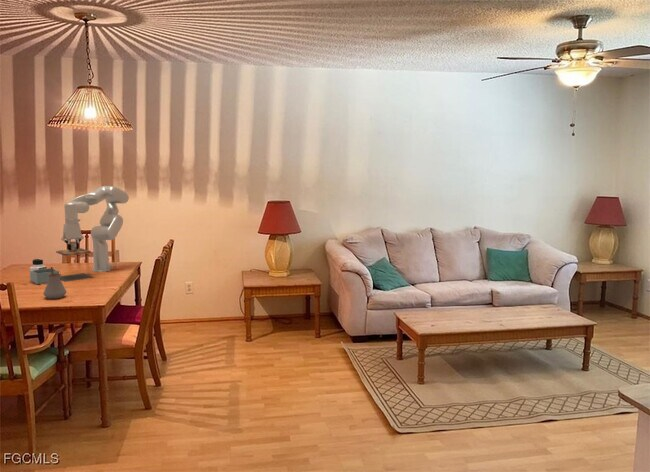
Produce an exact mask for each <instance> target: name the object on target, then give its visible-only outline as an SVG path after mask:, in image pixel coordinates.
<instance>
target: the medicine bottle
mask: <svg viewBox="0 0 650 472" xmlns="http://www.w3.org/2000/svg"><path fill="white" fill-rule="evenodd" d="M41 269H48V268H47V265H44V259H42V258H34V259H32V266H30V267H29V272H30V271H33V270H41Z"/></svg>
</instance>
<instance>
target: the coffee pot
mask: <svg viewBox="0 0 650 472" xmlns="http://www.w3.org/2000/svg"><path fill="white" fill-rule="evenodd" d="M50 268H51V273H52V274H50V275H48V277H49V281H48V283H46V287H45V288H44V291H43V295H44V297H46V298H47V299H49V300H58V299H62V298H63V297H64V296H65V295H66V294H67V290H66V288H65V286H64V284H63V283H62V282H63V281H62V280H60V276H62V274H61V273H59V274H54V273H53V269H55V268H54V267H52V266H50V267H49V268H48V269H50Z"/></svg>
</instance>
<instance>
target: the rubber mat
mask: <svg viewBox="0 0 650 472" xmlns="http://www.w3.org/2000/svg"><path fill="white" fill-rule="evenodd" d="M93 278H96V277H95V276H92V275H89V274H86V273H75V274H66V275H61V276H60V280H61V282H71V281H78V280H79V281H80V280H86V279H87V280H88V279H93Z"/></svg>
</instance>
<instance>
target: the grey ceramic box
mask: <svg viewBox="0 0 650 472" xmlns="http://www.w3.org/2000/svg"><path fill="white" fill-rule="evenodd" d="M49 268H50V267H49ZM49 268H47V269H41V270H33V271H30V270H29V278H30V279H29V281H30V283H33V284H34V285H37V286H38V285H39V286H41V285H44V284H47V283H48V281H49V277H48V275H50V274H52V273H51V268H50V269H49ZM53 273H54V274H60V270H59V269H58V270H57V269H55V268H54V269H53Z"/></svg>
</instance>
